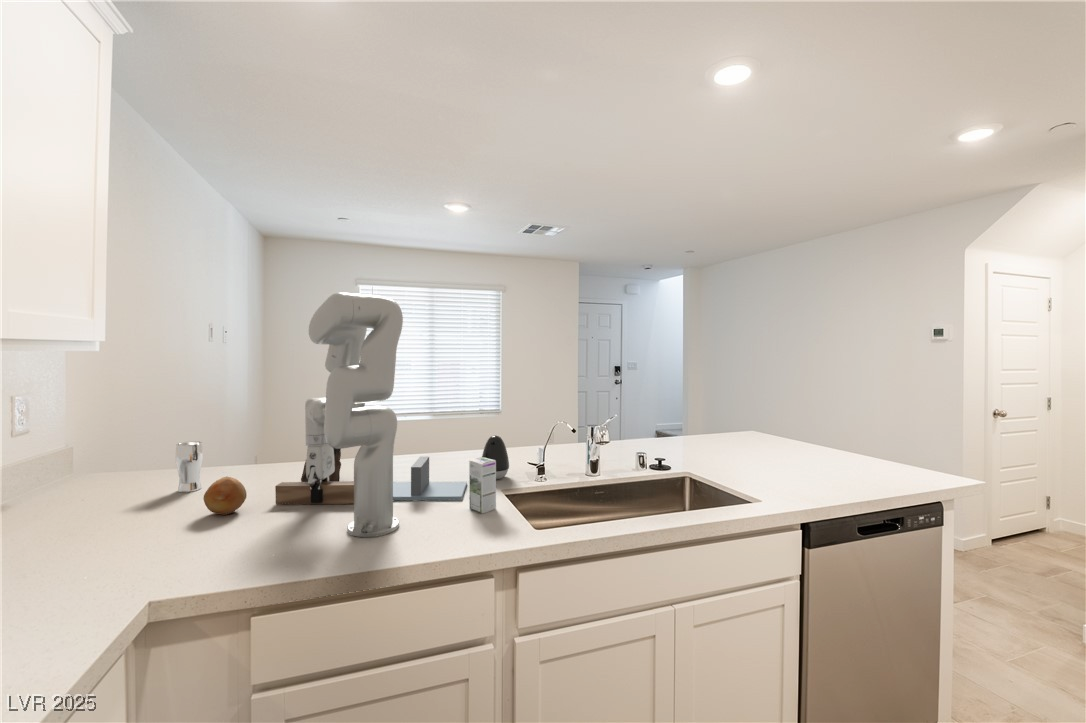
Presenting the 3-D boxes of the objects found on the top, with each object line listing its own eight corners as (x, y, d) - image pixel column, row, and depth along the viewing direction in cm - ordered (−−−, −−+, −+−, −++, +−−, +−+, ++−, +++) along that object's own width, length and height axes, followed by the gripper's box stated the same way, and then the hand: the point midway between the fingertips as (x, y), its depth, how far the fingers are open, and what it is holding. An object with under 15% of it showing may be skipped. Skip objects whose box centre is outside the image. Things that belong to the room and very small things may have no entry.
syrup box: (496, 509, 140) (497, 459, 139) (481, 514, 135) (481, 463, 135) (484, 504, 144) (484, 456, 143) (468, 509, 139) (468, 459, 139)
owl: (337, 477, 171) (337, 421, 170) (352, 485, 162) (352, 425, 161) (299, 484, 162) (299, 425, 161) (313, 492, 153) (312, 430, 152)
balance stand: (461, 500, 147) (461, 467, 147) (368, 500, 146) (368, 468, 145) (466, 485, 163) (467, 455, 163) (383, 485, 162) (383, 455, 161)
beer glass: (207, 488, 155) (206, 442, 155) (181, 494, 150) (181, 446, 149) (197, 485, 159) (196, 440, 159) (172, 490, 153) (171, 443, 153)
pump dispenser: (476, 480, 168) (477, 437, 168) (485, 473, 179) (485, 432, 178) (505, 482, 167) (505, 439, 166) (511, 474, 177) (512, 433, 176)
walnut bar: (358, 503, 142) (358, 484, 142) (275, 504, 141) (275, 486, 141) (363, 499, 146) (363, 481, 146) (282, 500, 145) (282, 482, 145)
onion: (199, 513, 133) (199, 477, 133) (240, 504, 141) (240, 471, 140) (208, 522, 127) (208, 485, 126) (251, 513, 134) (250, 477, 134)
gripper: (321, 444, 135) (321, 509, 136) (342, 434, 152) (343, 491, 152) (293, 445, 135) (294, 509, 135) (318, 434, 151) (318, 491, 152)
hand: (320, 499), depth 144 cm, fingers closed on walnut bar, 4 cm apart
